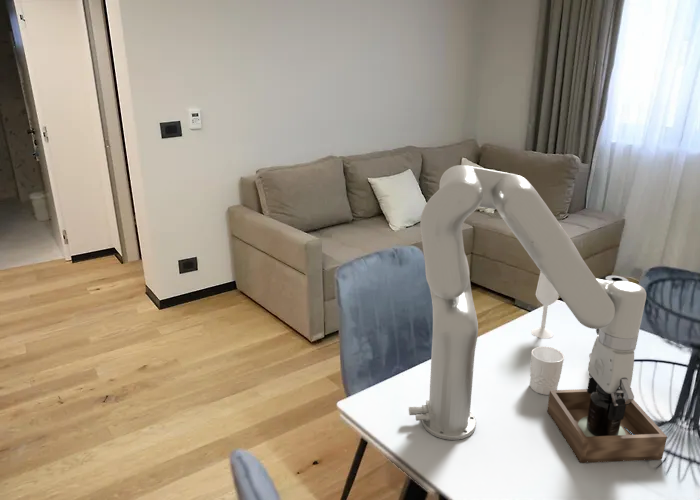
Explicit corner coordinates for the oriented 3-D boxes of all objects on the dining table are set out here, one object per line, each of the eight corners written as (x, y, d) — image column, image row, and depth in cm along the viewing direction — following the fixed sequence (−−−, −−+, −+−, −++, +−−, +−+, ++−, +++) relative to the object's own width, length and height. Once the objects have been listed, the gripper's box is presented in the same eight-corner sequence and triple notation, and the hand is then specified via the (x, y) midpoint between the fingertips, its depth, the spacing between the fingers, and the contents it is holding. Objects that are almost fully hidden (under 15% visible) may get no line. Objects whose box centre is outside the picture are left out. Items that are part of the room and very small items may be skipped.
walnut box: (580, 463, 117) (583, 440, 115) (547, 411, 134) (549, 390, 132) (661, 459, 118) (667, 436, 116) (618, 408, 135) (622, 387, 132)
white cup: (538, 398, 139) (543, 364, 135) (521, 381, 146) (525, 348, 142) (565, 393, 141) (570, 359, 137) (547, 377, 148) (551, 344, 144)
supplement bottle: (612, 421, 128) (620, 377, 124) (622, 441, 121) (632, 395, 117) (581, 420, 128) (588, 376, 124) (590, 439, 122) (598, 393, 118)
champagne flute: (538, 326, 175) (547, 255, 167) (557, 333, 171) (567, 261, 162) (526, 332, 171) (534, 261, 163) (545, 340, 167) (555, 267, 158)
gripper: (582, 319, 125) (571, 383, 131) (621, 359, 109) (606, 430, 115) (614, 319, 126) (601, 383, 131) (657, 358, 109) (641, 429, 115)
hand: (604, 405), depth 123 cm, fingers open, 9 cm apart
